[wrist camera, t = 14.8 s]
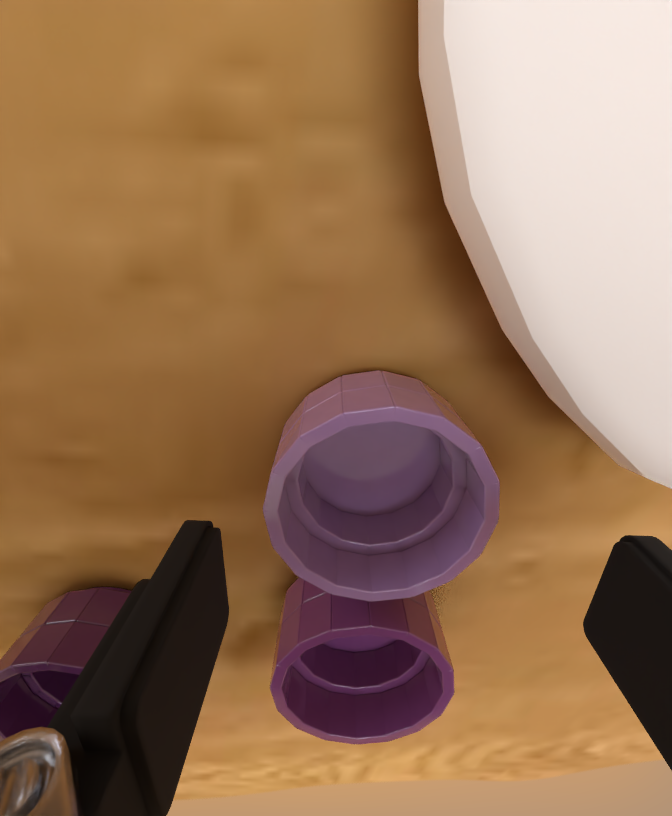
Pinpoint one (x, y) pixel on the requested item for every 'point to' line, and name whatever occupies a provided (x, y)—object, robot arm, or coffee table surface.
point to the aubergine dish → (53, 656)
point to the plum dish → (359, 665)
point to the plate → (566, 197)
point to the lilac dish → (379, 489)
